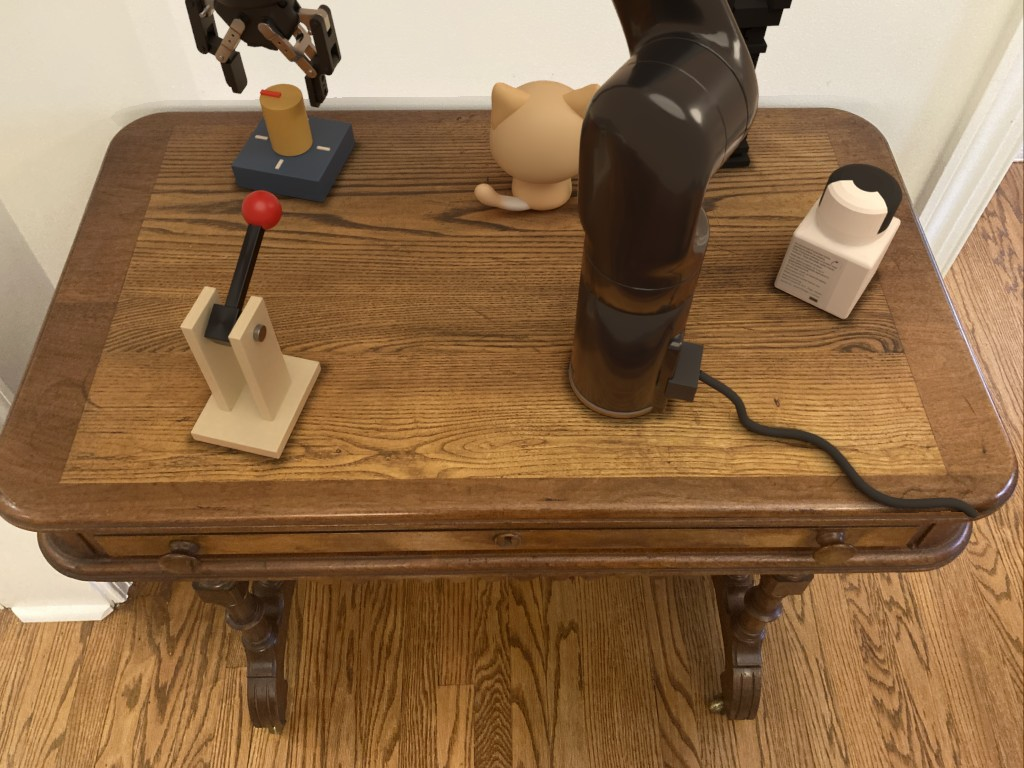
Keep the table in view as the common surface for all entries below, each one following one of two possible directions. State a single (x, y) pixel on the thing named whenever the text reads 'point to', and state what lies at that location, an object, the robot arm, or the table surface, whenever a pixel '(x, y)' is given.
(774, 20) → the chess piece
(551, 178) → the kitten
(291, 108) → the dial
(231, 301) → the red knob lever
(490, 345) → the table surface
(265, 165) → the panel
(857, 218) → the container
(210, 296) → the lever stand
